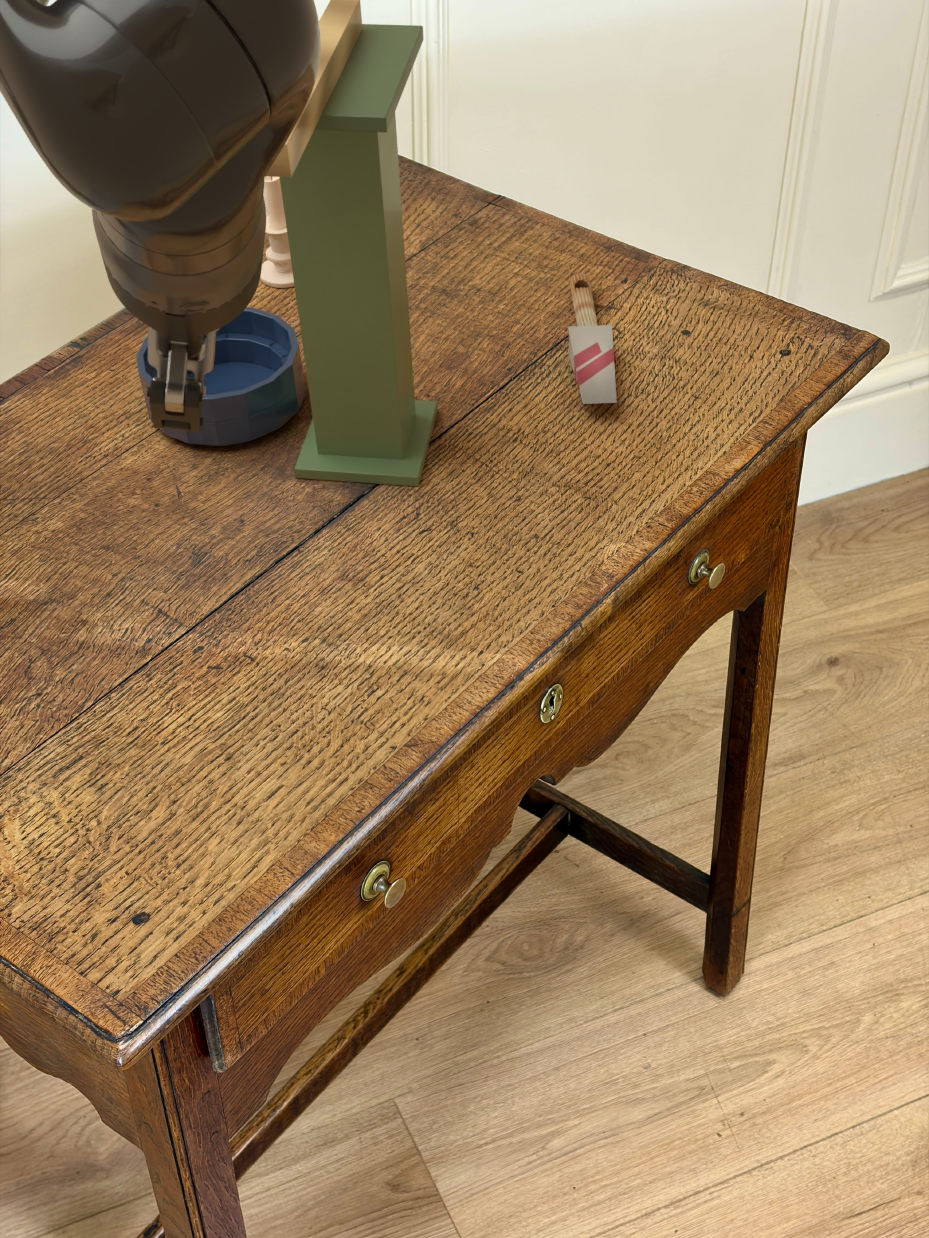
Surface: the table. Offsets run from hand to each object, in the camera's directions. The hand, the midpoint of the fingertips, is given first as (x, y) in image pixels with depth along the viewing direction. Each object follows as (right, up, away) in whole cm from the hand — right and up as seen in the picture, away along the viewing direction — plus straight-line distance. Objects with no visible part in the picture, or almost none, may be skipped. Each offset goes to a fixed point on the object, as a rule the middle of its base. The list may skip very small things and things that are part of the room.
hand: (189, 324), depth 75 cm
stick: (+7, +16, +6) cm, 18 cm away
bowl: (-4, +1, +36) cm, 36 cm away
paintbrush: (+27, +7, +40) cm, 49 cm away
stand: (+8, -3, +32) cm, 33 cm away
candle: (-1, +16, +51) cm, 53 cm away
